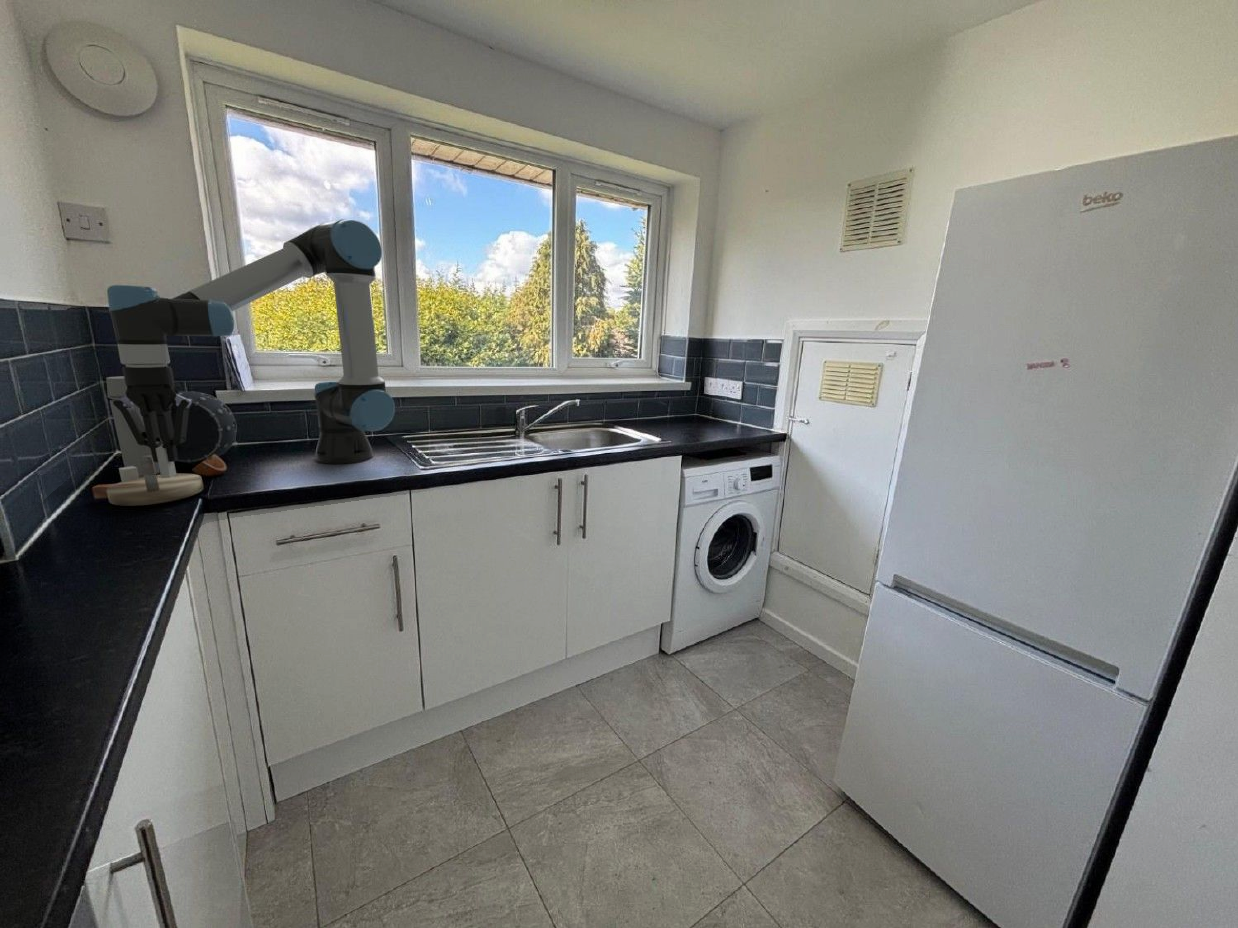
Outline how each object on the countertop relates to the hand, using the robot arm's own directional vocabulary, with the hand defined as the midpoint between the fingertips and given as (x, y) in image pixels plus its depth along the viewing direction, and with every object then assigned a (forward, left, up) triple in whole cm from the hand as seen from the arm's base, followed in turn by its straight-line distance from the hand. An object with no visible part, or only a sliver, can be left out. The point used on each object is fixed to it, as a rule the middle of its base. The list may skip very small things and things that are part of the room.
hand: (169, 476), depth 111 cm
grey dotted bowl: (+11, -40, -7) cm, 42 cm away
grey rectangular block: (+15, -15, -7) cm, 22 cm away
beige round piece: (+7, -5, -6) cm, 10 cm away
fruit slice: (+2, -24, -7) cm, 25 cm away
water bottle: (+17, -28, -7) cm, 34 cm away
